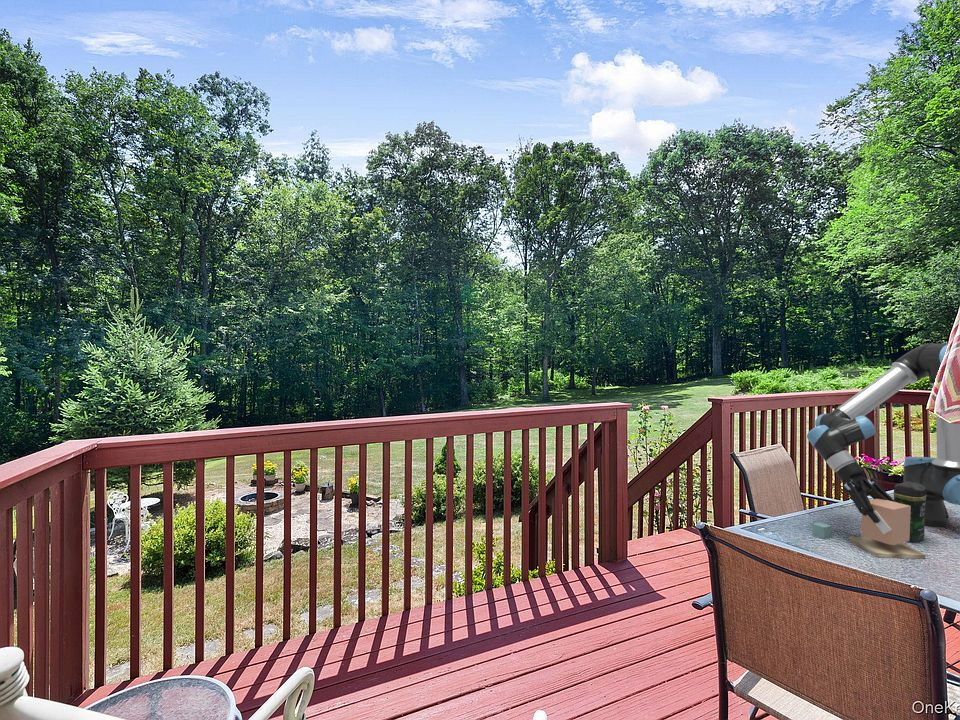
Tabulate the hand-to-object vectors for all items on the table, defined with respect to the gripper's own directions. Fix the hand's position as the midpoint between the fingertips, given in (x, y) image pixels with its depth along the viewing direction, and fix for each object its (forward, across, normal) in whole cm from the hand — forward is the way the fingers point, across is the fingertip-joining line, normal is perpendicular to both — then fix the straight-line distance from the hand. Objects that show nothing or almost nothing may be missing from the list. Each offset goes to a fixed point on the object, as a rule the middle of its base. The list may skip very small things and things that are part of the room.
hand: (896, 529), depth 169 cm
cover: (0, 0, -5) cm, 5 cm away
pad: (+3, 0, -7) cm, 8 cm away
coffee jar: (+1, -18, -9) cm, 20 cm away
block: (-8, +7, -18) cm, 21 cm away
